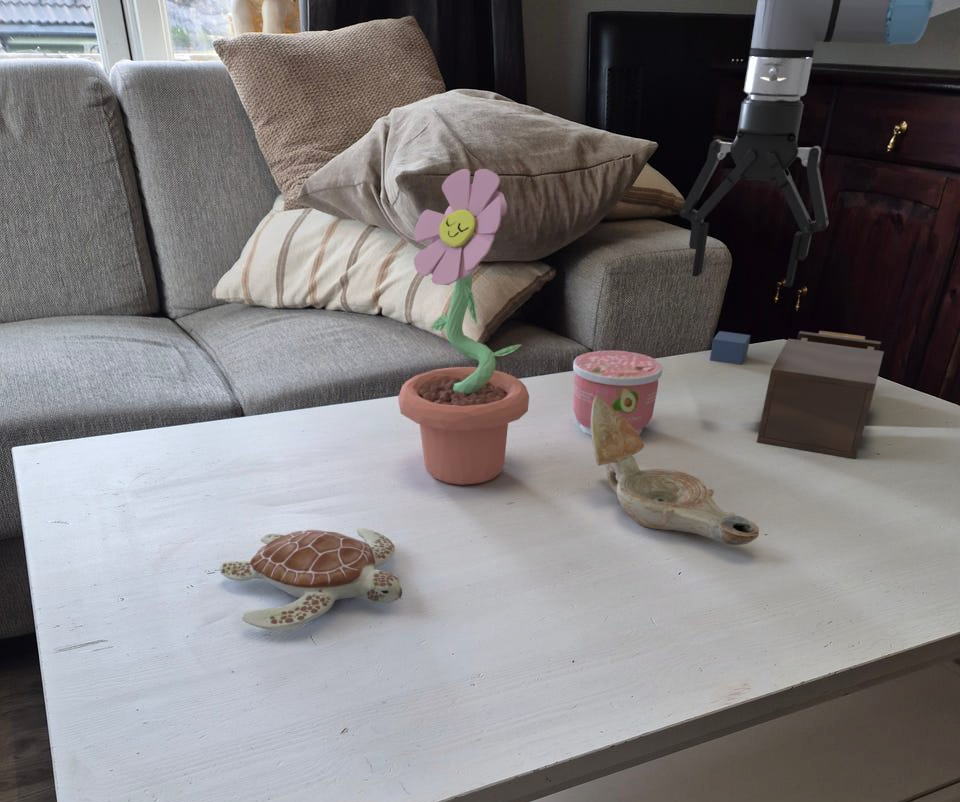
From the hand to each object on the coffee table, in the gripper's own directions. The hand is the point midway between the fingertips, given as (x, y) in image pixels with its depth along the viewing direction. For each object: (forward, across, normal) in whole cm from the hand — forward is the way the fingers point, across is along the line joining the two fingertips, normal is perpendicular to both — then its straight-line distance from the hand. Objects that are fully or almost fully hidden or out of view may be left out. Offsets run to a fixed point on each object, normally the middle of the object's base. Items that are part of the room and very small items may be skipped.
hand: (742, 279), depth 127 cm
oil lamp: (+13, +4, -52) cm, 54 cm away
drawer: (+11, +15, -9) cm, 20 cm away
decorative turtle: (+13, -20, -78) cm, 82 cm away
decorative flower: (+13, -20, -50) cm, 55 cm away
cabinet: (+12, +15, -20) cm, 28 cm away
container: (+13, -8, -30) cm, 34 cm away
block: (+12, 0, 0) cm, 12 cm away
